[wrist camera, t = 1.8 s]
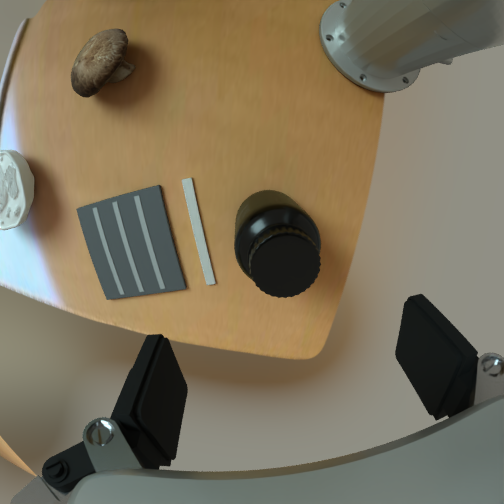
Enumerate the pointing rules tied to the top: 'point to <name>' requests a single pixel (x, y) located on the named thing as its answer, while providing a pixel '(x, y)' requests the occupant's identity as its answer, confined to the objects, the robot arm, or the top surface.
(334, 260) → the top surface
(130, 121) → the top surface
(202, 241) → the strip
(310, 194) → the top surface
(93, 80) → the mushroom
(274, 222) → the supplement bottle
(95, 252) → the mat
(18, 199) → the cell model
